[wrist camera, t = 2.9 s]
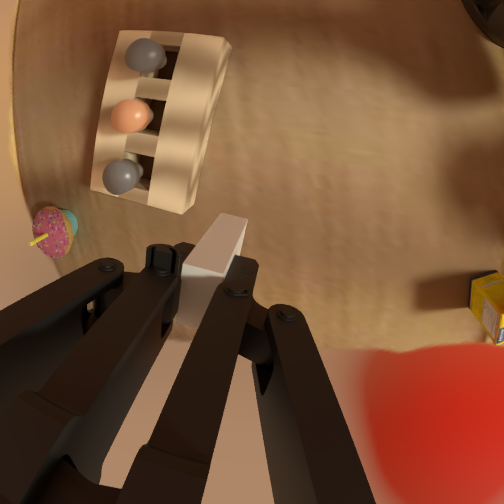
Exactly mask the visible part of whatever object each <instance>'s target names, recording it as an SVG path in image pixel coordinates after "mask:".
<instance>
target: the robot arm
mask: <svg viewBox="0 0 504 504" xmlns="http://www.w3.org/2000/svg"><path fill="white" fill-rule="evenodd" d="M462 1H463V3H464V5H465V7H466V9H467V11H468V13H469V14H470V16H471V18H472V19H473V20H474V22H475V23H476V24H477V26H478V27H479V28H480V29H481V30H482V31H483V32H484V33H485V34H486V35H487V36H488V37H489V38H490V39H491V40H492V41H494V42H495V43H496V44H498V45H499V46H501V47H503V48H504V0H462ZM247 221H248V219H245V218H241V217H237V216H233V215H228V214H224V213H221V214H220V215H219V216H218V218H217V219H216V220H215V221H214V223H213V224H212V225H211V227H210V228H209V229H208V231H207V232H206V233H205V234H204V236H203V237H202V238H201V240H200V241H199V242H198V244H197V245H193V244H189V243H185V242H182V243H179V244H176V245H175V246H174V247H173V246H171V245H166V244H153V245H150V246H148V247H147V250H146V264H145V268H144V269H143V270H142V271H141V272H140V273H133V272H124V265H123V263H122V262H120V261H119V260H116V259H114V258H101V259H98V260H95V261H93V262H91V263H89V264H87V265H85V266H83V267H81V268H79V269H77V270H75V271H73V272H71V273H69V274H67V275H65V276H63V277H61V278H59V279H58V280H56V281H54V282H52V283H50V284H48V285H46V286H44V287H43V288H41V289H39V290H37V291H35V292H33V293H31V294H29V295H28V296H26V297H24V298H22V299H20V300H19V301H17V302H15V303H13V304H11V305H10V306H8V307H6V308H4V309H3V310H1V311H0V504H201V500H202V497H203V493H204V489H205V485H206V481H207V477H208V473H209V469H210V464H211V459H212V456H213V452H214V448H215V444H216V440H217V436H218V432H219V428H220V424H221V420H222V416H223V412H224V408H225V404H226V400H227V396H228V392H229V388H230V384H231V380H232V376H233V372H234V368H235V364H236V360H237V356H238V354H239V355H241V356H243V357H245V358H247V359H249V360H251V361H252V373H253V379H254V385H255V391H256V398H257V404H258V410H259V416H260V422H261V428H262V434H263V440H264V446H265V452H266V458H267V463H268V469H269V475H270V480H271V486H272V492H273V497H274V503H275V504H376V503H375V500H374V497H373V494H372V491H371V489H370V486H369V483H368V480H367V477H366V475H365V472H364V469H363V466H362V464H361V461H360V458H359V456H358V453H357V450H356V448H355V445H354V442H353V440H352V437H351V434H350V432H349V429H348V426H347V424H346V421H345V419H344V416H343V413H342V411H341V408H340V406H339V403H338V400H337V398H336V395H335V392H334V390H333V387H332V385H331V382H330V380H329V377H328V375H327V372H326V370H325V367H324V365H323V362H322V360H321V357H320V354H319V352H318V349H317V347H316V344H315V342H314V339H313V337H312V334H311V332H310V329H309V327H308V324H307V322H306V319H305V317H304V315H303V314H302V313H301V312H300V311H299V310H298V309H296V308H294V307H292V306H290V305H285V304H276V305H273V306H271V307H270V308H269V309H267V308H265V307H263V306H261V305H259V304H258V303H257V302H256V301H255V300H254V298H253V289H254V284H255V280H256V276H257V272H258V267H259V265H258V263H257V261H256V260H254V259H251V258H247V257H243V256H240V251H241V247H242V243H243V238H244V234H245V229H246V225H247ZM91 301H92V302H93V308H92V309H91V310H87V304H88V303H90V302H91ZM176 313H177V316H176V323H180V324H183V325H186V326H190V327H193V328H197V329H198V330H197V332H196V334H195V336H194V339H193V341H192V343H191V345H190V348H189V350H188V352H187V355H186V357H185V359H184V361H183V363H182V366H181V368H180V370H179V373H178V375H177V377H176V379H175V382H174V384H173V386H172V389H171V391H170V394H169V395H168V398H167V400H166V402H165V405H164V407H163V409H162V412H161V414H160V416H159V419H158V421H157V423H156V426H155V428H154V430H153V433H152V435H151V437H150V439H149V441H148V443H147V444H145V445H143V446H142V447H141V448H140V449H139V451H138V453H137V455H136V457H135V459H134V462H133V464H132V466H131V469H130V471H129V473H128V476H127V478H126V480H125V483H124V485H123V487H122V489H119V488H114V487H109V486H104V485H99V482H100V478H101V470H102V465H103V462H104V459H105V457H106V455H107V453H108V451H109V449H110V447H111V445H112V443H113V441H114V439H115V437H116V435H117V433H118V431H119V429H120V427H121V425H122V423H123V421H124V419H125V417H126V415H127V413H128V412H129V410H130V408H131V406H132V404H133V402H134V400H135V398H136V396H137V394H138V392H139V390H140V388H141V386H142V384H143V383H144V380H145V379H146V376H147V375H148V373H149V371H150V369H151V367H152V365H153V364H154V362H155V360H156V358H157V356H158V354H159V352H160V350H161V349H162V347H163V345H164V343H165V341H166V339H167V338H168V336H169V334H170V332H171V330H172V326H173V318H174V317H175V315H176Z"/></svg>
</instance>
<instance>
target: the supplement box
mask: <svg viewBox="0 0 504 504" xmlns="http://www.w3.org/2000/svg"><path fill="white" fill-rule="evenodd" d="M469 309H470V310H471V311H472V313H473V314H474V315H475V317H476V318H477V320H478V321H479V322H480V324H481V325H482V326H483V328H484V329H485V331H486V332H487V334H488V335H489V336H490V338H491V339H492V341H493V342H494V344H495V345H496V346H497V345H499V344H502V343H504V277H503V276H502V275H501V274H500V273H499V272H498V271H496V270H495V271H492V272H489V273H486V274H483V275H480V276H476V277H474V278H471V279H470V292H469Z"/></svg>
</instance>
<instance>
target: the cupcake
mask: <svg viewBox="0 0 504 504" xmlns="http://www.w3.org/2000/svg"><path fill="white" fill-rule="evenodd" d="M34 218H35V219H34V221H33V226H32V228H33V230H32V231H33V235H34V238H35V239H34V240H32V241H30V242H29V244H28V246H29V245H30V246H32V245H34V244H37V245H38V247H39V248H40V249H41V250H42V252H43V253H44V254H46V255H48V256H50V257H53V258H55V257H56V258H58V257H61V256H64V255H65V254H67V253H68V252H69V249H70V247H71V245H72V241H73V236H74V235H75V234H76V232H77V229H78V222H77V219H76V217H75V215H74V214H73V213H72V212H71V211H70V210H67V209H64V210H60V209H58V208H57V207H55V206H46V207H44V208H43V209H42V210H41V211H38V213H37V214H36V215H35V217H34Z"/></svg>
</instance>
